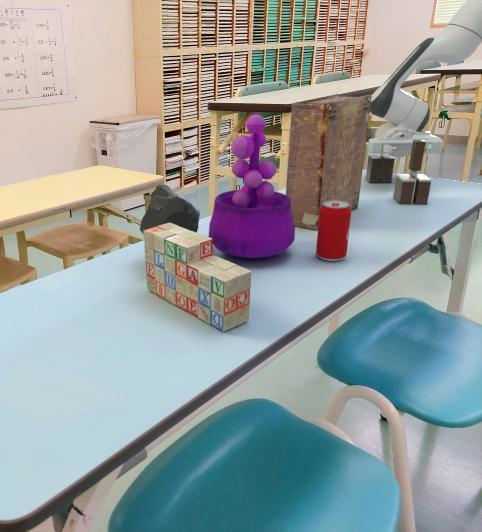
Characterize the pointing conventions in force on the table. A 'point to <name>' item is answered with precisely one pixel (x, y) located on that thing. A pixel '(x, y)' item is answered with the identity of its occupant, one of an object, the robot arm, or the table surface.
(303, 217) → the book
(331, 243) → the beverage can
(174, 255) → the stack of blocks
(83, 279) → the table surface
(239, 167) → the decorative plant
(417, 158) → the knife
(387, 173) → the knife holder
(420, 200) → the brown wooden cube
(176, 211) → the dark grey faceted rock
